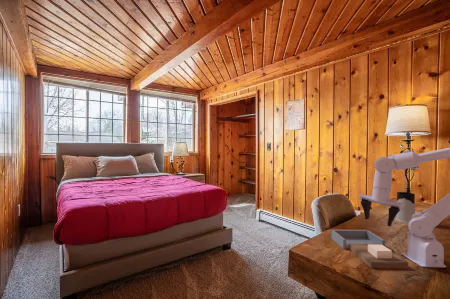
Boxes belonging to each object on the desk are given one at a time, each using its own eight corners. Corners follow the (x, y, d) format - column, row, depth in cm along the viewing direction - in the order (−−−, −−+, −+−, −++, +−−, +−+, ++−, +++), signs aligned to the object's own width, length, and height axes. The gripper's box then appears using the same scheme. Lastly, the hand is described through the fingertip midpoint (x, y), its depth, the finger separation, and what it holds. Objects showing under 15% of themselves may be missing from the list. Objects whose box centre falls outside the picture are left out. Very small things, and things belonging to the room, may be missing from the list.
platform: (408, 268, 74) (408, 262, 74) (371, 267, 75) (371, 261, 75) (379, 249, 88) (379, 244, 88) (348, 248, 89) (348, 243, 89)
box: (384, 249, 88) (384, 240, 88) (343, 248, 89) (343, 239, 89) (367, 238, 99) (367, 229, 99) (330, 237, 100) (330, 229, 100)
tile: (391, 258, 77) (391, 251, 77) (376, 258, 77) (377, 250, 77) (381, 251, 82) (381, 244, 82) (367, 251, 82) (367, 244, 82)
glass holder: (393, 220, 124) (393, 193, 123) (399, 215, 133) (400, 189, 133) (414, 224, 117) (414, 195, 117) (419, 219, 126) (419, 192, 126)
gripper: (408, 191, 85) (403, 226, 86) (365, 183, 96) (361, 214, 97) (402, 193, 81) (397, 230, 81) (358, 184, 92) (354, 217, 93)
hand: (377, 222), depth 89 cm, fingers open, 7 cm apart
